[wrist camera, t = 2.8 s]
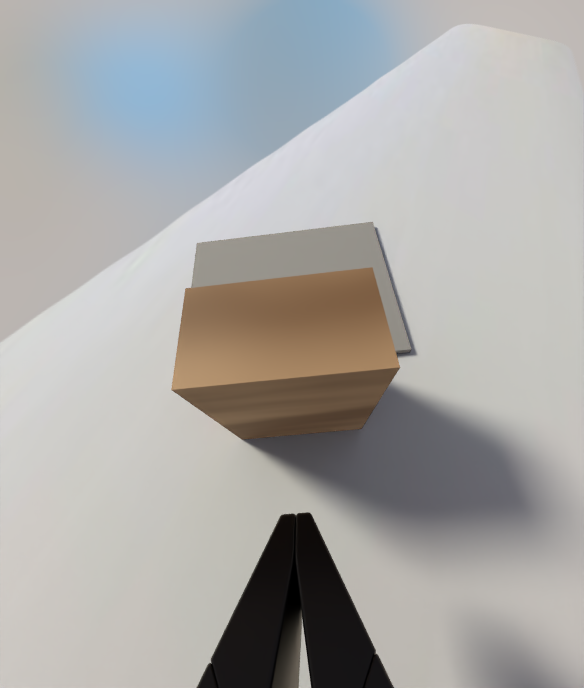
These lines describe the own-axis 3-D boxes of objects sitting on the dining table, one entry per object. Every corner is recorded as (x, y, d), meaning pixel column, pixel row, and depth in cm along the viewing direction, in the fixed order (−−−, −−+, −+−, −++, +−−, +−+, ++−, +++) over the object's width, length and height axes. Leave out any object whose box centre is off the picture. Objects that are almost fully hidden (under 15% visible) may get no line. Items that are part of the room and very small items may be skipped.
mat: (409, 352, 18) (411, 349, 18) (183, 374, 19) (180, 372, 19) (371, 225, 24) (372, 221, 24) (198, 246, 25) (197, 243, 24)
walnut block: (361, 428, 16) (399, 367, 8) (242, 439, 17) (171, 389, 9) (349, 365, 18) (372, 267, 10) (243, 376, 19) (185, 288, 11)
